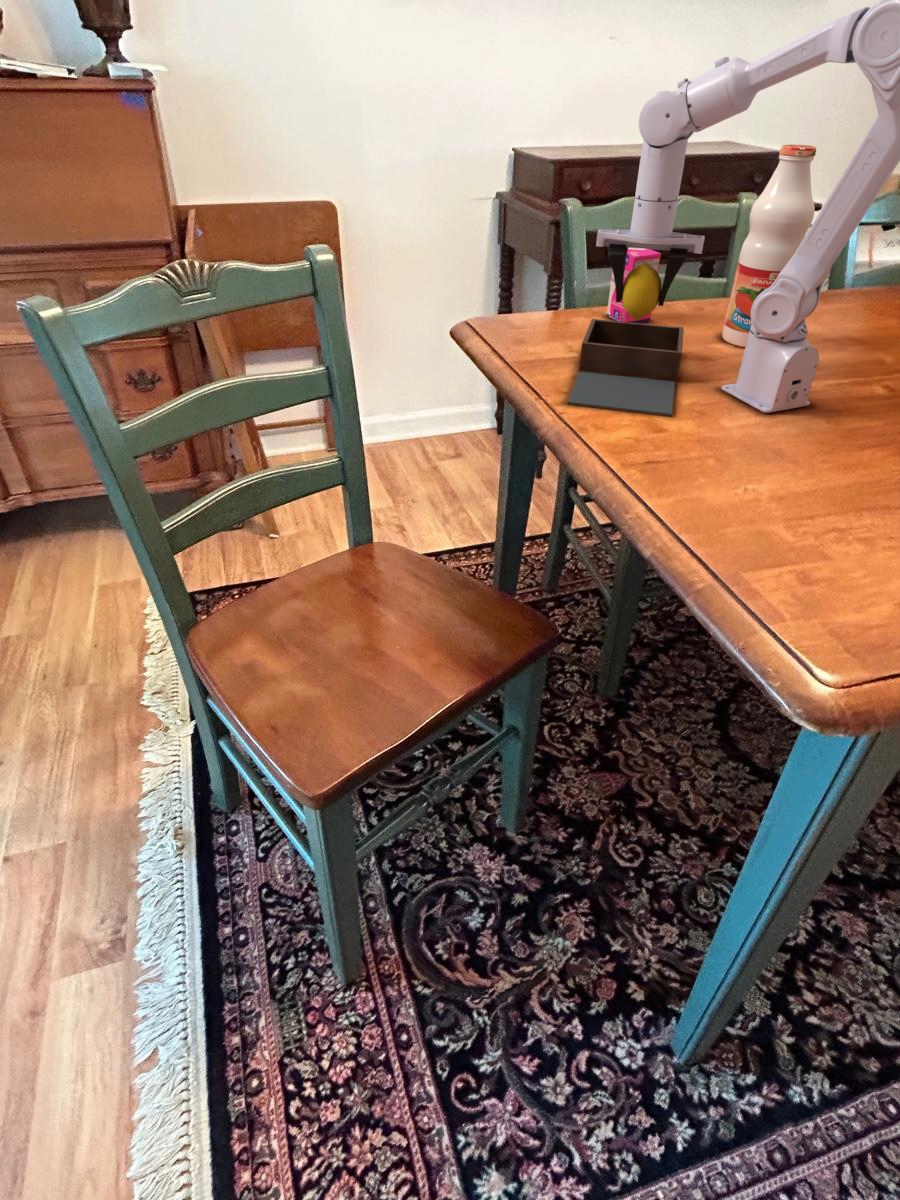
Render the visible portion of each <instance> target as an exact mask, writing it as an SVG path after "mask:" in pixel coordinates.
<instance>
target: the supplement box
mask: <svg viewBox="0 0 900 1200" xmlns="http://www.w3.org/2000/svg"><path fill="white" fill-rule="evenodd" d="M661 255H662V253H661V252H658V251H657V250H654V249H642V248H628V252H627V258H626V265H625V271H624V282H625V279H626V277H627V275H628V274H629V273H630V272H631V271H632V270H633V269H634V268H636V267H638V266H641V265H642V264H643V263H648V264H649V266H651V267H652V268H654V269H655V270H656V271H657V272H658V273H659V269H660V262H661ZM624 282H623V285H624ZM606 317H608V318H610V319H611V320H613V321H622V322H632V323H643V324H644V323H649V322H651V317H652V312H651V313H650V314H648V315H646V316H643V317H642V318H641V319H640V320H635V319H634V318H633V316H631V315H630V314H628V313H627V312H626V311H625V309H624V307H623V305H622V299H621V302H616V288H615V280H614V275H613V270H612V271H611V279H610V286H609V294H608V302H607V310H606Z"/></svg>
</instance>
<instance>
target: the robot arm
mask: <svg viewBox="0 0 900 1200" xmlns="http://www.w3.org/2000/svg"><path fill="white" fill-rule="evenodd" d="M826 63H836V64H838V63H839V64H853V63H854V64H855V63H856V64H857V66H858V68H859V69H860V71H861V72H862V73H863V75H864V77H866V79H868V82H869V83H870V85H871V90H872V94H873V99H874V103H875V106H876V109H877V110H876V111H877V115H876V117H875V120H874V121H873V123H872V125H871V126H870V128H869V130H868V131H867V133H866V135H865V136H864V138H863V140H862V141H861V143H860V144H859V146H858V148H857V150H856V151H855V153H854V154H853V156H852V158H851V159H850V161H849V162H848V165H847V166H846V168H845V169H844V170H843V173H842V174H841V176H840V178H839V179H838V181H837V183H836V184H835V185H834V188H833V189H832V191H831V192H830V194H829V196H828V198H827V199H826V201H825V202H824V205H823V206H822V207H821V209H820V211H819V212H818V214H817V215H816V218H815V219H814V220H813V221H812V223H811V225H810V227H809V229H808V231H807V232H806V234H805V237H804V239H803V241H802V242H801V244H800V246H799V247H798V249H797V251H796V252H795V254H794V255H793V257H792V258H791V259H790V261H789V262H788V263H787V264H786V266H785V267H784V268H783V270H782V271H781V272H780V274H779V275H778V277H777V279H776V280H775V282H774V283H773V284H772V285H771V286H770V287H769V288H768V289H766V290H765V291H763V292H762V293H761V294H759V295H758V297H757V298H756V299H755V301H754V302H753V305H752V308H751V321H752V325H751V328H750V331H749V335H748V339H747V343H746V347H744V351H743V355H742V359H741V363H740V368H739V371H738V375H737V379H736V382H735V383H730V384H724V385H721V388H720V389H721V391H724V392H726V393H727V394H729V395H731V396H733V397H734V398H735V399H738V400H739V401H742V402H744V403H745V404H748V405H749V406H750V407H753V408H754V409H756V410H758V411H760V412H762V413H764V414H769V413H775V412H779V411H780V412H781V411H786V410H791V409H796V408H802V407H807V406H810V405H811V402H810V400H808V397H809V394H810V392H811V388H812V385H813V381H814V380H815V379H814V378H815V376H816V372H817V369H818V365H819V363H820V362H819V360H820V356H819V352H818V350H817V349H816V348H815V347H814V346H812V345H811V344H810V342H809V340H808V338H807V336H808V331H809V330H808V327H807V322H806V320H805V319H807V318H808V317H810V316H811V315H812V314H813V313H814V311H815V310H816V308H817V307H818V305H819V302H820V297H821V296H820V295H821V290H822V287H823V285H824V283H825V281H826V280H827V279H828V277H829V275H830V272H831V270H832V267H833V265H834V263H835V262H836V260H837V259H838V258H839V256H840V255H841V252H842V251H843V249H844V248H845V247H846V245H847V243H848V242H849V241H850V239H851V238H852V236H853V234H854V232H855V231H856V230H857V228H858V227H859V225H860V224H861V222H862V220H863V219H864V217H865V216H866V215H867V212H868V211H869V210H870V208H871V206H872V205H873V203H874V202H875V200H876V199H877V197H878V196H879V194H880V192H881V191H882V189H883V188H884V186H885V185H886V184H887V181H888V180H889V178H890V177H891V175H892V174H893V173H894V171H895V169H896V168H897V166H898V165H899V163H900V0H880V1H878V2H876V3H875V4H874V5H872V6H871V7H869V6H864V7H861V8H859V9H858V8H857V9H854V10H853V11H850V12H847V13H845V14H843V15H840V16H838V17H836V18H833V19H831V20H829V21H827V22H825V23H823V24H821V25H820V26H817V27H815V28H814V29H812V30H810V31H809V32H807V33H804V34H803V35H801V36H799V37H797V38H796V39H793V40H791V41H790V42H788V43H786V44H784V45H781V46H780V47H778V48H777V49H774V50H773V51H771V52H769V53H767V54H765V55H763V56H762V57H760V58H758V59H756V60H754V61H752V62H749V61H747V60H745V59H743V58H741V57H738V56H736V57H733V58H731V59H730V57H729V56H723V57H721V58H719V59H717V60H714V68H712V69H710V70H708V71H706V72H704V73H702V74H699V75H698V76H696V77H693V78H692V79H690V80H689V78H687V77H686V78H682V79H680V80H679V81H678V82H677V84H676V85H677V88H676V89H675V91H670V90H659V91H657V92H656V93H655V94H654V95H653V96H651V97H650V98H649V99H648V100H647V101H646V102H644V103H645V104H644V105H643V106H642V107H641V110H640V113H639V117H638V129H639V133H640V135H641V137H642V140H643V141H642V147H641V154H640V159H639V167H638V174H637V181H636V188H635V196H634V202H633V208H632V216H631V223H630V228H629V229H628V228H627V229H625V228H624V229H604V228H599V229H598V231H597V234H596V244H595V247H599V248H600V247H601V248H603V247H608V251H607V256H608V260H609V264H610V266H611V270H612V271H613V275H614V280H615V288H616V302H621V299H622V298H621V297H622V288H623V282H624V271H625V265H626V258H627V252H628V248H642V249H651V250H655V251H657V250H658V251H668V254H667V260H666V267H665V272H664V278H663V281H662V284H661V294H660V298H659V302H658V304H657V306H658V307H664V303H665V300H666V297H667V294H668V292H669V289H670V288H671V285H672V284H673V281H674V279H675V278H676V276H677V274H678V273H679V271H680V269H681V268H682V267H683V265H684V264H685V262H686V260H687V255H688V253H693V254H696V255H697V254H699V255H702V254H703V249H704V243H705V238H706V237H705V235H698V234H690V233H681V232H674V231H673V230H674V224H675V218H676V213H677V207H678V202H679V195H680V190H681V185H682V180H683V179H682V178H683V172H684V167H685V162H686V161H685V158H686V153H687V147H688V141H689V139H690V138H691V137H692V136H693V134H694V133H699V132H702V131H703V130H705V129H709V128H710V127H712V126H714V125H715V126H716V125H717V124H719V123H721V122H723V121H725V120H727V119H730V118H732V117H735V116H737V115H739V114H741V113H744V112H746V111H747V110H748V109H749V108H750V106H751V105H752V102H753V101H754V99H755V97H756V96H757V94H758V93H759V92H760V91H763V90H766V89H768V88H771V87H773V86H775V85H777V84H779V83H782V82H784V81H786V80H789V79H791V78H793V77H796V76H799V75H801V74H803V73H805V72H808V71H810V70H812V69H815V68H817V67H820V66H822V65H824V64H826Z"/></svg>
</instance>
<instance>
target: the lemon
mask: <svg viewBox="0 0 900 1200" xmlns="http://www.w3.org/2000/svg"><path fill="white" fill-rule="evenodd" d="M661 289H662V281H661V277H660V274H659V271H658V272H657V271H656V270H655V269H654V268H652V267H651V266H649V264H648V263H643V264H642V265H641V266H638V267H636V268H634V269H633V270H632V271H631V272H630V273H629V274H628V275H627V277H626V279H625V282H624V285H623V288H622V297H621V298H622V305H623V307H624V309H625V311H626V312H627V313H628V314H630V315H631V316H633V318H634V319H635V320H640V319H641V318H642V317H643V316H646V315H648V314H650V313H651V314H652V312H654V310H655V309H656V307H657V306H658V303H659V298H660V294H661Z"/></svg>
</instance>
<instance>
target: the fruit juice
mask: <svg viewBox="0 0 900 1200" xmlns="http://www.w3.org/2000/svg"><path fill="white" fill-rule="evenodd" d="M778 153H779V155H778V160H779V161H778V164H777V167H776V168H775V170H774V171H773V173H772V175H771V177H770V179H769V181H768V182H767V184H766V185H765V187H764V189H763V191H762V192H761V194H760V195H759V196H758V198H757V199H755V201H754V203H753V204H752V207H751V209H750V213H749V231H748V234H747V236H746V237H745V239H744V241H743V243H742V246H741V249H740V253H739V256H738V260H737V265H736V270H735V273H734V278H733V283H732V287H731V291H730V296H729V300H728V306H727V309H726V313H725V318H724V322H723V327H722V332H721V336H722V339H723V340H724V341H725V342H727V343H729V344H732V345H734V346H738V347H741V348H745V347H746V343H747V339H748V335H749V331H750V328H751V325H752V321H751V308H752V305H753V302H754V301H755V299H756V298H757V297H758V295H759V294H761V293H762V292H763V291H765V290H766V289H768V288H769V287H770V286H771V285H772V284H773V283H774V282H775V280H776V279H777V277H778V275H779V274H780V272H781V271H782V270H783V268H784V267H785V266H786V264H787V263H788V262H789V261H790V259H791V258H792V257H793V255H794V254H795V252H796V251H797V249H798V247H799V246H800V244H801V242H802V241H803V239H804V237H805V236H806V234H807V232H808V231H809V229H810V227H811V226H812V224H813V222H814V218H815V211H816V210H815V209H816V208H815V203H814V200H813V193H812V180H811V179H812V178H811V177H812V176H811V174H812V173H811V163H812V162H813V161H814V159H815V156H816V153H817V147H816V146H815V145H814V146H813V145H808V144H782V145H781V147H780V148H779V152H778Z"/></svg>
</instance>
